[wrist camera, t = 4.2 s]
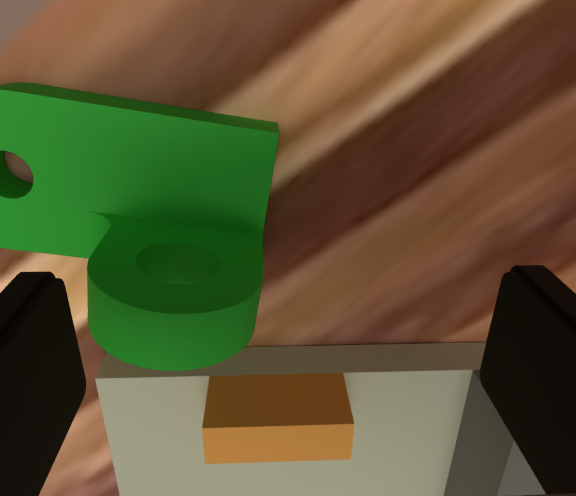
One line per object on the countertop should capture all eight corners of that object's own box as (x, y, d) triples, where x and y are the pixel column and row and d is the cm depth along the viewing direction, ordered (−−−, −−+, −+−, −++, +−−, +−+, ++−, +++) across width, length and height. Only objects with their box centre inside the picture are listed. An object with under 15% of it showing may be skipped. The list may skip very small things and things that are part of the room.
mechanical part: (277, 121, 19) (288, 189, 12) (255, 256, 21) (253, 379, 14) (-50, 68, 17) (-267, 108, 10) (-31, 219, 20) (-193, 336, 13)
